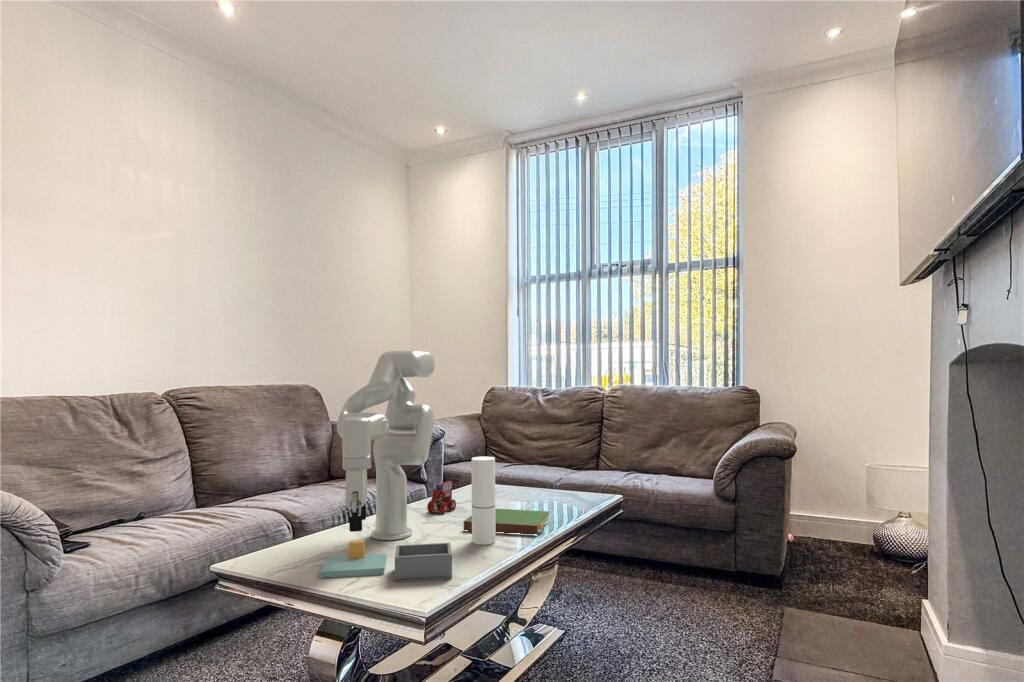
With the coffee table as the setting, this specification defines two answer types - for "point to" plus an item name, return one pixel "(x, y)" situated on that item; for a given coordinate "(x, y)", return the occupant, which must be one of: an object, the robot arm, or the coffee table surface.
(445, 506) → the toy fire truck
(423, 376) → the robot arm
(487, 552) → the coffee table surface
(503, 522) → the hardcover book
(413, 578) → the tub
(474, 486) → the cylindrical container
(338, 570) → the lid
